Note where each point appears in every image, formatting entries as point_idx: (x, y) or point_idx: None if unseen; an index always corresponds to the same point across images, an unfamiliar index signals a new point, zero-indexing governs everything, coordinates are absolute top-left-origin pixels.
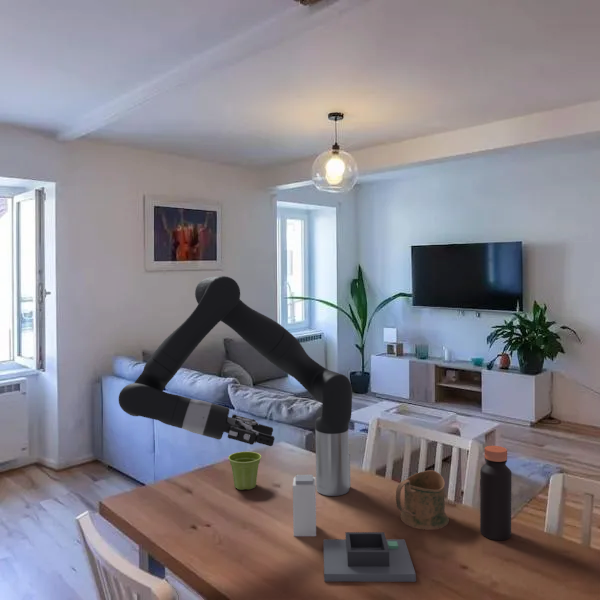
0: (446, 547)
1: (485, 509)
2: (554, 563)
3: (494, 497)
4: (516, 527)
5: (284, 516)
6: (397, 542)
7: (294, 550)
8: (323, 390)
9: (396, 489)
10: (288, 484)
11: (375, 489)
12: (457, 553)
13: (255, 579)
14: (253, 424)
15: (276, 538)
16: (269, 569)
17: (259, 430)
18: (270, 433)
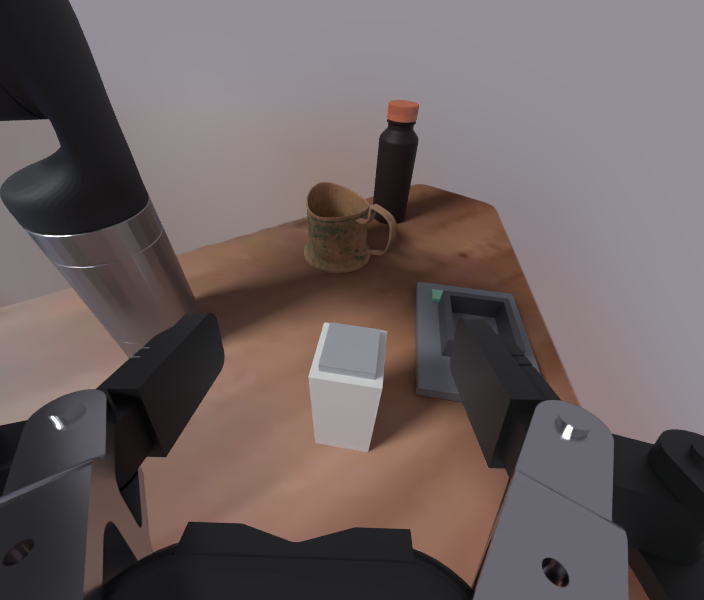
0: (418, 255)
1: (400, 192)
2: (446, 205)
3: (411, 171)
4: None
5: (255, 463)
6: (426, 290)
7: (435, 458)
8: (14, 24)
9: (390, 226)
10: None
11: (210, 275)
12: (432, 251)
13: None
14: (110, 452)
15: (375, 501)
16: None
17: (170, 415)
18: (216, 349)
